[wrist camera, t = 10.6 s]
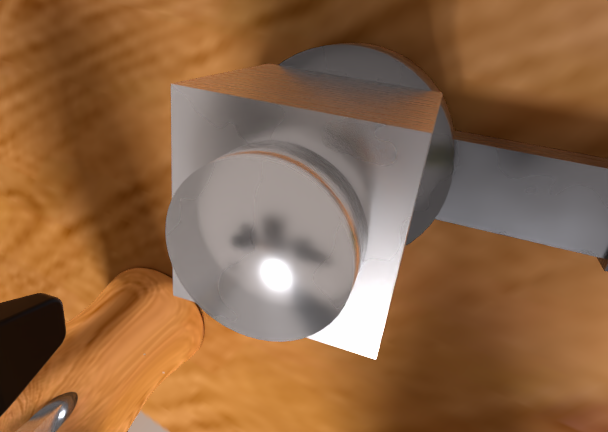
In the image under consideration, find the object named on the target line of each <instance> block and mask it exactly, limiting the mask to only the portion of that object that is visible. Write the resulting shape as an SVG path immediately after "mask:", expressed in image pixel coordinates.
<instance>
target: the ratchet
mask: <svg viewBox="0 0 608 432" xmlns="http://www.w3.org/2000/svg"><path fill="white" fill-rule="evenodd" d="M279 65H281V66H287V67H293V68H299V69H305V70H311V71H316V72H322V73H328V74H334V75H340V76H346V77H352V78H358V79H364V80H370V81H376V82H382V83H388V84H394V85H400V86H406V87H412V88H417V89H423V90H429V91H435V92H440V91H439V89H438V88H437V86H436V85H435V84H434V82H433V81H432V80H431V78H430V77H429V76H428V75H427V74H426V73H425V72H424V71H423V70H422V69H421V68H420V67H418V66H417V65H416V64H414V63H413V62H412V61H410V60H409V59H408V58H406V57H404V56H402V55H400V54H399V53H397V52H395V51H392V50H390V49H387V48H384V47H381V46H377V45H372V44H368V43H355V42H352V43H339V44H332V45H326V46H321V47H317V48H312V49H309V50H306V51H303V52H301V53H298V54H296V55H294V56H292V57H290V58H288V59H286V60H285V61H283V62H282V63H280V64H279ZM434 219H437V220H441V221H445V222H450V223H454V224H458V225H463V226H467V227H471V228H475V229H480V230H484V231H488V232H492V233H497V234H501V235H505V236H510V237H514V238H518V239H522V240H527V241H531V242H535V243H540V244H544V245H548V246H552V247H557V248H561V249H565V250H570V251H574V252H578V253H582V254H587V255H591V256H595V257H597V259H598V260H599V262H600V264H601V266H602V267H603V269H604V271H608V159H607V158H602V157H596V156H591V155H586V154H580V153H575V152H570V151H564V150H559V149H553V148H548V147H543V146H537V145H532V144H526V143H521V142H516V141H510V140H505V139H499V138H494V137H489V136H483V135H478V134H473V133H467V132H462V131H456V130H454V127H453V123H452V119H451V115H450V112H449V109H448V107H447V104H446V102H445V100H444V98H443V96H442V99H441V103H440V107H439V111H438V115H437V119H436V123H435V127H434V131H433V135H432V139H431V144H430V148H429V152H428V156H427V160H426V164H425V168H424V172H423V176H422V180H421V184H420V188H419V192H418V196H417V200H416V204H415V208H414V212H413V216H412V220H411V224H410V228H409V232H408V236H407V240H406V244H405V246H406V245H408V244H409V243H411V242H412V241H413V240H415V239H416V238H417V237H418V236H420V235H421V234H422V233H423V232H424V231H425V230H426V229H427V228H428V227H429V226H430V225H431V223H432V222H433V221H434Z"/></svg>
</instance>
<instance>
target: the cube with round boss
mask: <svg viewBox="0 0 608 432" xmlns="http://www.w3.org/2000/svg"><path fill="white" fill-rule="evenodd" d="M442 95H443V93H441V92H435V91H429V90H423V89H417V88H412V87H406V86H400V85H394V84H388V83H382V82H376V81H370V80H364V79H358V78H352V77H346V76H340V75H334V74H328V73H322V72H316V71H311V70H305V69H299V68H293V67H287V66H281V65H275V64H264V65H259V66H254V67H249V68H244V69H240V70H235V71H230V72H225V73H220V74H215V75H210V76H206V77H201V78H196V79H191V80H186V81H181V82H176V83H172V84H171V143H172V200H171V203H170V206H169V209H168V213H167V218H166V229H165V234H166V244H167V249H168V254H169V257H170V260H171V263H172V266H173V295H174V296H177V297H180V298H183V299H186V300H189V301H193V302H196V303H197V305H198V306H199V307H201V308H202V309H203V310H204V311H205V312H206V313H207V314H208V315H210V316H211V317H212V318H213V319H215V320H216V321H218V322H219V323H221V324H222V325H224V326H226V327H227V328H229V329H231V330H233V331H235V332H238V333H240V334H243V335H245V336H248V337H252V338H256V339H260V340H266V341H280V342H282V341H293V340H298V339H302V338H305V337H306V338H309V339H313V340H316V341H319V342H322V343H325V344H328V345H332V346H335V347H338V348H341V349H344V350H347V351H350V352H354V353H357V354H360V355H363V356H366V357H369V358H373V359H376V358H377V354H378V350H379V346H380V342H381V338H382V334H383V330H384V327H385V323H386V319H387V315H388V311H389V307H390V303H391V299H392V295H393V292H394V288H395V284H396V280H397V276H398V272H399V268H400V264H401V260H402V256H403V253H404V248H405V244H406V240H407V236H408V232H409V228H410V224H411V220H412V216H413V212H414V208H415V204H416V200H417V196H418V192H419V188H420V184H421V180H422V176H423V172H424V168H425V164H426V160H427V156H428V152H429V148H430V144H431V139H432V135H433V131H434V127H435V123H436V119H437V115H438V111H439V107H440V103H441V99H442Z"/></svg>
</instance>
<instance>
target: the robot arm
mask: <svg viewBox="0 0 608 432" xmlns="http://www.w3.org/2000/svg"><path fill="white" fill-rule="evenodd" d="M65 336H66V325H65V318H64V311H63V305H62V302H61V300H60V299H58V298H56V297H53V296H50V295H47V294H44V293H37V294H33V295H29V296H25V297H21V298H18V299H14V300H10V301H6V302H2V303H0V417H1V416H2V415H3V414H4V413H5V412H6V410H7V409H8V408H9V407H10V406H11V405H12V404H13V402H14V401H15V400H16V399H17V398H18V396H19V395H20V394H21V393H22V392H23V390H24V389H25V388H26V387H27V386H28V384H29V383H30V382H31V381H32V379H33V378H34V377H35V376H36V375H37V373H38V372H39V371H40V370H41V369H42V367H43V366H44V365H45V364H46V363H47V361H48V360H49V359H50V358H51V356H52V355H53V354H54V353H55V352H56V350H57V349H58V348H59V347H60V346H61V344H62V343H63V341H64V339H65Z"/></svg>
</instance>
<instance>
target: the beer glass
mask: <svg viewBox="0 0 608 432" xmlns="http://www.w3.org/2000/svg"><path fill="white" fill-rule="evenodd" d="M65 325H66V336H65V339H64V341H63V343H62V344H61V346H60V347H59V348H58V349H57V350H56V352H55V353H54V354H53V355H52V356H51V358H50V359H49V360H48V361H47V363H46V364H45V365H44V366H43V367H42V369H41V370H40V371H39V372H38V373H37V375H36V376H35V377H34V378H33V379H32V381H31V382H30V383H29V384H28V386H27V387H26V388H25V389H24V390H23V392H22V393H21V394H20V395H19V396H18V398H17V399H16V400H15V401H14V402H13V404H12V405H11V406H10V407H9V408H8V409H7V410H6V412H5V413H4V414H3V415H2V416H1V417H0V432H128V430H129V428H130V427H131V425H132V423H133V421H134V420H135V418H136V416H137V415H138V413H139V412H140V410H141V408H142V407H143V405H144V403H145V402H146V401H147V399H148V398H149V397H150V395H151V394H152V393H153V391H154V390H155V389H156V388H157V387H158V386H159V385H160V383H161V382H162V381H163V380H164V379H165V378H167V377H168V376H169V375H170V374H171V373H172V372H174V371H175V370H176V369H177V368H179V367H180V366H181V365H182V364H184V363H185V362H186V361H187V360H188V359H190V358H191V357H192V356H193V355H194V354H195V353H196V351H197V350H198V349H199V347H200V345H201V343H202V340H203V334H204V326H203V320H202V317H201V314H200V311H199V309H198V307H197V305H196V303H195V302H193V301H189V300H186V299H183V298H180V297H177V296H174V295H173V279H172V278H171V277H169V276H167V275H165V274H163V273H161V272H159V271H156V270H153V269H148V268H132V269H129V270H126V271H124V272H122V273H120V274H119V275H117V276H116V277H115V278H114V279H113V280H112V281H111V282H110V283H109V284H108V285H107V286H106V288H105V289H104V290H103V291H102V292H101V293H100V294H99V295H98V297H97V298H96V299H95V300H94V301H93V302H92V303H91V304H90V305H89V306H88V307H87V308H86V309H84V310H83V311H82V312H81V313H80V314H78V315H77V316H76V317H74V318H73V319H71V320H70V321H68V322H67V323H65Z"/></svg>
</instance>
